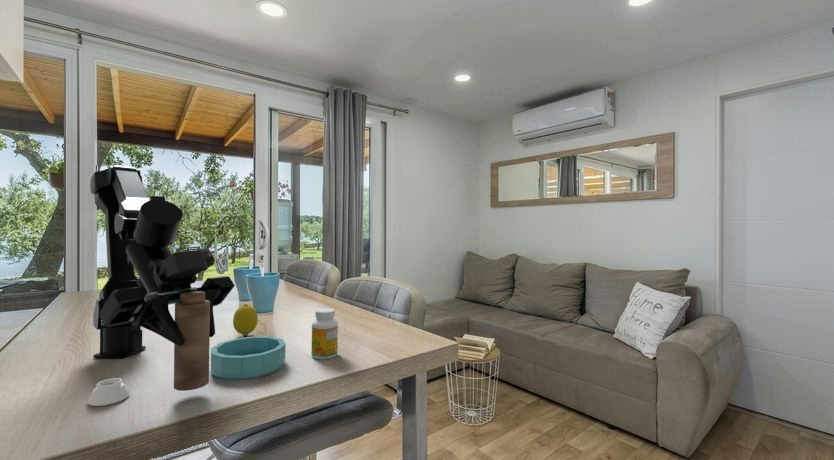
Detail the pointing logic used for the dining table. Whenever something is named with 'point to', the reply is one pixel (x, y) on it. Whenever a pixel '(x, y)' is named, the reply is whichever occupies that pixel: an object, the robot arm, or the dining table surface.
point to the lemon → (245, 319)
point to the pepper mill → (192, 341)
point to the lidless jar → (108, 392)
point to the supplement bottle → (324, 334)
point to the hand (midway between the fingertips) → (198, 339)
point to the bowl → (247, 357)
